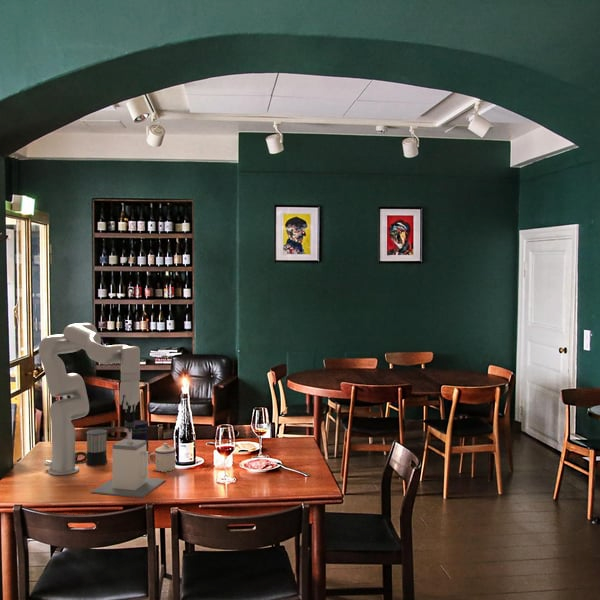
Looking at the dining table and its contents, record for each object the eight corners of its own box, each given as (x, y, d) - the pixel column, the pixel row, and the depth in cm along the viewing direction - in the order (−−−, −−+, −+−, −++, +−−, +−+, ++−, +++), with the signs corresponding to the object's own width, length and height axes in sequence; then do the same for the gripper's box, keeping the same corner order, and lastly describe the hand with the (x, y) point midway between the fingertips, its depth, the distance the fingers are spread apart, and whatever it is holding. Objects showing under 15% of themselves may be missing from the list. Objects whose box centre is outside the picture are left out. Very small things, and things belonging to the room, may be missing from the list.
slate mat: (91, 493, 260) (91, 491, 260) (117, 476, 281) (117, 475, 281) (142, 497, 255) (142, 496, 255) (165, 480, 277) (165, 479, 277)
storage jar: (141, 456, 313) (141, 425, 312) (123, 454, 316) (123, 423, 315) (152, 451, 322) (152, 421, 322) (134, 449, 325) (135, 419, 325)
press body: (112, 488, 264) (112, 444, 264) (123, 480, 274) (124, 438, 273) (141, 490, 262) (142, 447, 261) (152, 483, 272) (152, 440, 271)
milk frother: (108, 465, 297) (108, 433, 297) (71, 468, 292) (71, 435, 291) (105, 457, 311) (105, 426, 310) (70, 460, 305) (70, 428, 304)
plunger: (122, 467, 266) (123, 422, 266) (127, 464, 270) (127, 420, 270) (132, 467, 266) (132, 422, 265) (136, 465, 269) (136, 420, 269)
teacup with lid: (177, 466, 298) (177, 441, 297) (173, 472, 288) (173, 446, 288) (151, 465, 298) (151, 440, 297) (146, 471, 289) (146, 445, 288)
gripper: (130, 373, 275) (130, 417, 275) (113, 379, 260) (113, 425, 260) (146, 374, 273) (146, 418, 274) (130, 379, 258) (130, 426, 259)
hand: (130, 421), depth 267 cm, fingers closed
